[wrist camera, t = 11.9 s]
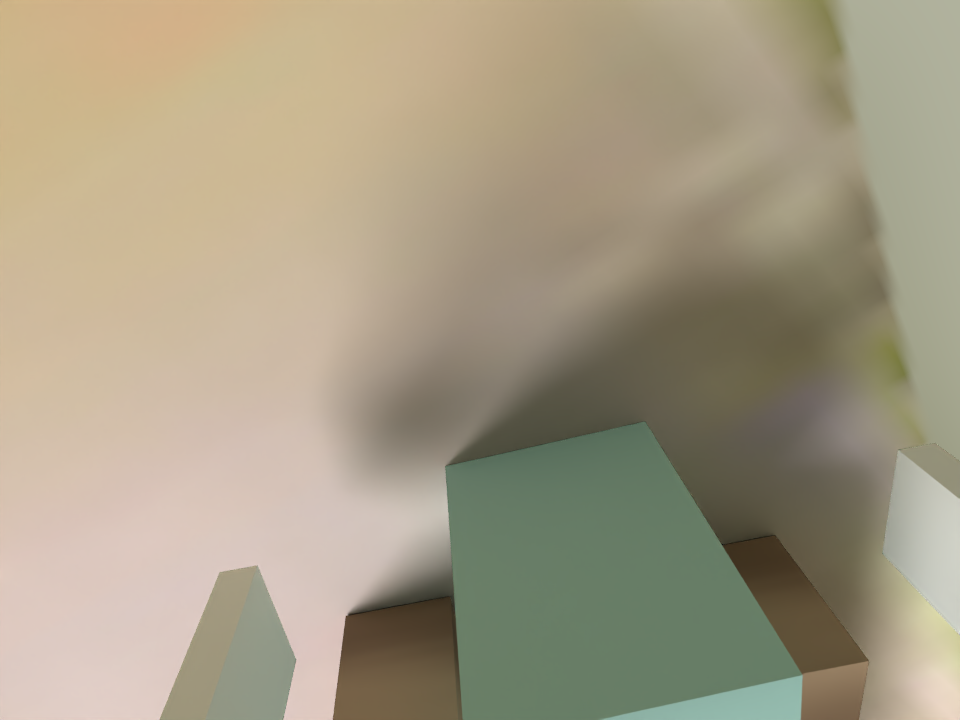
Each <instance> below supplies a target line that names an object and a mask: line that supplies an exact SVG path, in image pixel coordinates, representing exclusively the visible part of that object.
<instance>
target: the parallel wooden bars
mask: <svg viewBox="0 0 960 720" xmlns="http://www.w3.org/2000/svg"><path fill="white" fill-rule="evenodd" d="M722 546H723V548H724V549H725V551H726V553H727V554H728V556H729V557H730V559H731V561H732V562H733V564H734V565H735V567H736V569H737V570H738V572H739V573H740V575H741V577H742V578H743V580H744V582H745V583H746V585H747V586H748V588H749V590H750V591H751V593H752V594H753V596H754V598H755V599H756V601H757V602H758V604H759V606H760V607H761V609H762V611H763V612H764V614H765V615H766V617H767V619H768V620H769V622H770V623H771V625H772V627H773V628H774V630H775V631H776V633H777V635H778V636H779V638H780V640H781V641H782V643H783V644H784V646H785V648H786V649H787V651H788V652H789V654H790V656H791V657H792V659H793V660H794V662H795V664H796V665H797V667H798V669H799V670H800V672H801V673H802V675H803V678H802V701H801V720H859V714H860V709H861V703H862V698H863V692H864V686H865V681H866V675H867V670H868V664H869V660H868V659H867V658H866V656H865V655H864V654H863V652H862V651H861V650H860V648H859V647H858V646H857V644H856V643H855V642H854V640H853V639H852V638H851V636H850V635H849V634H848V632H847V631H846V629H845V628H844V627H843V625H842V624H841V623H840V621H839V620H838V619H837V617H836V616H835V615H834V613H833V612H832V611H831V609H830V608H829V607H828V605H827V604H826V603H825V601H824V600H823V599H822V597H821V596H820V595H819V593H818V592H817V591H816V589H815V588H814V587H813V585H812V584H811V583H810V581H809V580H808V579H807V577H806V576H805V575H804V573H803V572H802V571H801V569H800V568H799V567H798V565H797V564H796V563H795V561H794V560H793V559H792V557H791V556H790V555H789V553H788V552H787V551H786V549H785V548H784V547H783V545H782V544H781V543H780V541H779V540H778V539H777V537H776V536H770V537H764V538H759V539H754V540H748V541H743V542H738V543H732V544H727V545H722ZM333 720H463V718H462V703H461V689H460V674H459V659H458V644H457V630H456V617H455V613H454V609H453V605H452V601H451V597H445V598H439V599H434V600H429V601H423V602H418V603H413V604H408V605H402V606H397V607H392V608H386V609H381V610H376V611H370V612H365V613H360V614H354V615H349V616H346V619H345V627H344V635H343V643H342V651H341V659H340V667H339V675H338V683H337V691H336V699H335V707H334V715H333Z"/></svg>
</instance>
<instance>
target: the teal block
mask: <svg viewBox="0 0 960 720" xmlns="http://www.w3.org/2000/svg"><path fill="white" fill-rule="evenodd" d="M445 468H446V483H447V497H448V512H449V527H450V542H451V556H452V571H453V586H454V600H455V615H456V630H457V644H458V659H459V674H460V689H461V703H462V718H463V720H801V701H802V678H803V675H802V673H801V672H800V670H799V669H798V667H797V665H796V664H795V662H794V660H793V659H792V657H791V656H790V654H789V652H788V651H787V649H786V648H785V646H784V644H783V643H782V641H781V640H780V638H779V636H778V635H777V633H776V631H775V630H774V628H773V627H772V625H771V623H770V622H769V620H768V619H767V617H766V615H765V614H764V612H763V611H762V609H761V607H760V606H759V604H758V602H757V601H756V599H755V598H754V596H753V594H752V593H751V591H750V590H749V588H748V586H747V585H746V583H745V582H744V580H743V578H742V577H741V575H740V573H739V572H738V570H737V569H736V567H735V565H734V564H733V562H732V561H731V559H730V557H729V556H728V554H727V553H726V551H725V549H724V548H723V546H722V544H721V543H720V541H719V540H718V538H717V536H716V535H715V533H714V532H713V530H712V528H711V527H710V525H709V524H708V522H707V520H706V519H705V517H704V515H703V514H702V512H701V511H700V509H699V507H698V506H697V504H696V503H695V501H694V499H693V498H692V496H691V495H690V493H689V491H688V490H687V488H686V486H685V485H684V483H683V482H682V480H681V478H680V477H679V475H678V474H677V472H676V470H675V469H674V467H673V466H672V464H671V462H670V461H669V459H668V457H667V456H666V454H665V453H664V451H663V449H662V448H661V446H660V445H659V443H658V441H657V440H656V438H655V437H654V435H653V433H652V432H651V430H650V428H649V427H648V425H647V424H646V422H640V423H636V424H632V425H627V426H623V427H618V428H614V429H609V430H605V431H600V432H596V433H592V434H587V435H583V436H578V437H574V438H569V439H565V440H560V441H556V442H551V443H547V444H543V445H538V446H534V447H529V448H525V449H520V450H516V451H511V452H507V453H503V454H498V455H494V456H489V457H485V458H480V459H476V460H471V461H467V462H462V463H458V464H454V465H449V466H445Z"/></svg>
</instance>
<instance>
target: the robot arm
mask: <svg viewBox="0 0 960 720" xmlns="http://www.w3.org/2000/svg"><path fill="white" fill-rule="evenodd" d="M882 554H883V555H884V556H885V557H886V558H887V559H888V560H889V561H890V562H891V563H892V564H893V565H894V566H895V567H896V569H897V570H898V571H899V572H900V573H901V574H902V575H903V576H904V577H905V578H906V579H907V580H908V581H909V582H910V583H911V584H912V585H913V586H914V588H915V589H916V590H917V591H918V592H919V593H920V594H921V595H922V596H923V597H924V598H925V599H926V600H927V601H928V602H929V603H930V604H931V605H932V607H933V608H934V609H935V610H936V611H937V612H938V613H939V614H940V615H941V616H942V617H943V618H944V619H945V620H946V621H947V622H948V623H949V624H950V626H951V627H952V628H953V629H954V630H955V631H956V632H957V633H958V634H959V635H960V461H959V460H958V459H956V458H955V457H953V456H952V455H951V454H949V453H948V452H947V451H945V450H944V449H942V448H941V447H940V446H938V445H937V444H936V443H933V444H927V445H922V446H916V447H911V448H905V449H899V450H898V453H897V459H896V466H895V472H894V479H893V486H892V492H891V499H890V506H889V512H888V519H887V525H886V532H885V539H884V545H883V552H882ZM295 663H296V658H295V656H294V653H293V651H292V649H291V646H290V644H289V641H288V639H287V636H286V634H285V631H284V629H283V627H282V624H281V622H280V619H279V617H278V614H277V612H276V610H275V607H274V605H273V602H272V600H271V597H270V595H269V593H268V590H267V588H266V585H265V583H264V580H263V578H262V575H261V573H260V571H259V568H258V566H252V567H247V568H241V569H236V570H230V571H225V572H220V573H219V576H218V578H217V581H216V583H215V585H214V588H213V590H212V593H211V595H210V598H209V600H208V603H207V605H206V607H205V610H204V612H203V615H202V617H201V620H200V622H199V625H198V627H197V629H196V632H195V634H194V637H193V639H192V642H191V644H190V647H189V649H188V651H187V654H186V656H185V659H184V661H183V664H182V666H181V669H180V671H179V673H178V676H177V678H176V681H175V683H174V686H173V688H172V691H171V693H170V695H169V698H168V700H167V703H166V705H165V708H164V710H163V713H162V715H161V717H160V720H283V718H284V713H285V709H286V704H287V700H288V695H289V690H290V686H291V681H292V677H293V672H294V668H295Z"/></svg>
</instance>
